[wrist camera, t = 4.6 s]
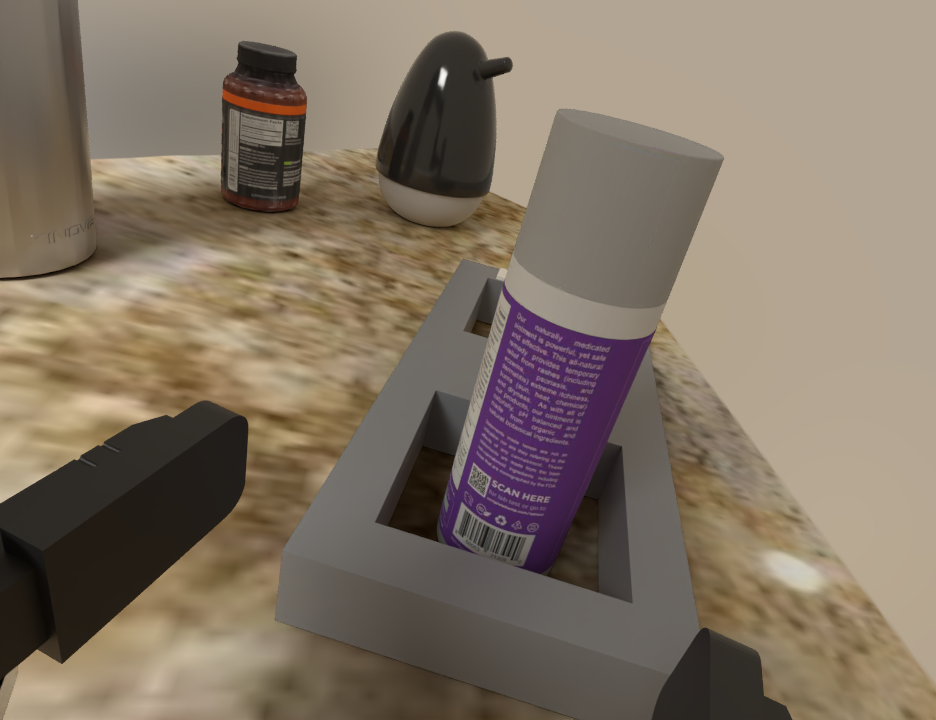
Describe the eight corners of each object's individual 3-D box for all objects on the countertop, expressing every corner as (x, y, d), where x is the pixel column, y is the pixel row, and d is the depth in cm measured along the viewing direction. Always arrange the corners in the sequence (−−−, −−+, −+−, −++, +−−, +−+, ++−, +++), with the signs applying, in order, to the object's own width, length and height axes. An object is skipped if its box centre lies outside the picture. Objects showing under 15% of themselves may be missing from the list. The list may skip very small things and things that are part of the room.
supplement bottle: (236, 183, 51) (241, 35, 45) (306, 200, 51) (320, 55, 46) (207, 202, 46) (209, 37, 40) (286, 220, 46) (299, 60, 41)
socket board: (274, 620, 18) (283, 545, 16) (453, 299, 41) (463, 255, 39) (666, 748, 17) (713, 683, 16) (626, 350, 40) (643, 307, 38)
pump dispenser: (431, 245, 49) (474, 38, 41) (345, 201, 54) (370, 8, 46) (502, 232, 56) (550, 54, 49) (422, 194, 61) (454, 27, 54)
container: (580, 567, 23) (766, 167, 15) (477, 607, 20) (642, 149, 13) (510, 483, 26) (637, 120, 19) (414, 509, 23) (517, 98, 16)
